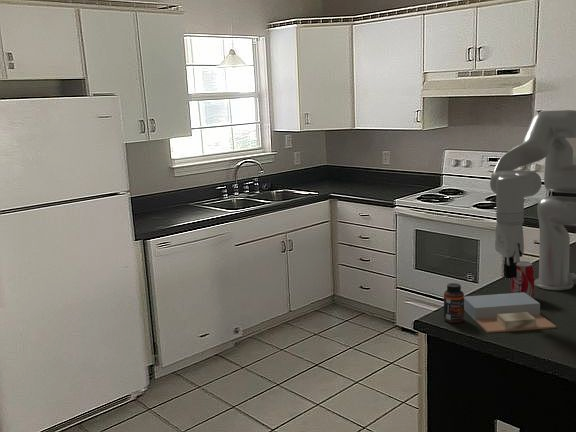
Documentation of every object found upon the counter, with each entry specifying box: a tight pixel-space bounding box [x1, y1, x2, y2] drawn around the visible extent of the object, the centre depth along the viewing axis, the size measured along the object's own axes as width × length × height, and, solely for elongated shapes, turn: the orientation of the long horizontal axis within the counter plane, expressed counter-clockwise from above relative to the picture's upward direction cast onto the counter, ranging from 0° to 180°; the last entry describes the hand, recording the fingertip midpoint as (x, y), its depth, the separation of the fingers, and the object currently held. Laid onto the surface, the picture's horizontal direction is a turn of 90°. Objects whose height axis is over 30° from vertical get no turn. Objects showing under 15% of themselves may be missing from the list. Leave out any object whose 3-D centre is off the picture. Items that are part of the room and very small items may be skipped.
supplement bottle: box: [443, 282, 465, 324], centre depth 178 cm, size 6×6×11 cm
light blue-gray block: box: [464, 292, 541, 321], centre depth 183 cm, size 20×11×4 cm, turn 93°
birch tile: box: [497, 312, 536, 329], centre depth 172 cm, size 9×6×2 cm, turn 92°
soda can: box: [510, 260, 535, 299], centre depth 194 cm, size 7×7×12 cm
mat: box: [474, 313, 557, 334], centre depth 173 cm, size 20×10×1 cm, turn 93°
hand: (510, 276), depth 175 cm, fingers closed
